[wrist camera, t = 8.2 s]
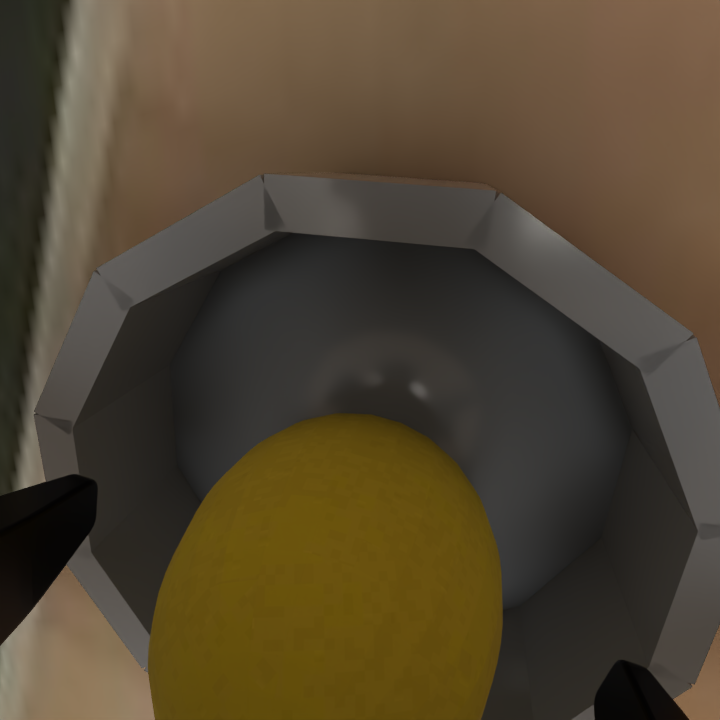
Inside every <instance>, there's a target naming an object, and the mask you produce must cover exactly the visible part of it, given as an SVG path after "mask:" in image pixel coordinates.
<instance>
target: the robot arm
mask: <svg viewBox="0 0 720 720" xmlns="http://www.w3.org/2000/svg"><path fill="white" fill-rule="evenodd" d="M97 498H98V485H97V482H96V481H95V480H93V479H90V478H87V477H84V476H81V475H78V474H70V475H66V476H63V477H60V478H57V479H54V480H50V481H47V482H44V483H41V484H37V485H34V486H31V487H28V488H24V489H21V490H18V491H15V492H12V493H8V494H5V495H2V496H0V645H1V644H2V643H3V642H4V641H5V640H6V639H7V638H8V637H9V635H10V634H11V633H12V632H13V631H14V630H15V629H16V628H17V626H18V625H19V624H20V623H21V622H22V621H23V620H24V619H25V617H26V616H27V615H28V614H29V613H30V612H31V610H32V609H33V608H34V607H35V605H36V604H37V603H38V602H39V600H40V599H41V598H42V596H43V595H44V594H45V592H46V591H47V590H48V588H49V587H50V586H51V584H52V583H53V582H54V580H55V579H56V578H57V576H58V575H59V574H60V572H61V571H62V570H63V568H64V567H65V565H66V564H67V563H68V561H69V560H70V559H71V557H72V556H73V555H74V553H75V552H76V551H77V549H78V548H79V547H80V545H81V544H82V543H83V541H84V540H85V538H86V537H87V536H88V534H89V533H90V532H91V530H92V528H93V526H94V524H95V521H96V516H97ZM594 718H595V720H689V719H688V717H687V716H686V715H685V714H684V712H683V711H682V710H681V709H680V708H679V706H678V705H677V704H676V703H675V701H674V700H673V699H672V698H671V696H670V695H669V694H668V693H667V691H666V690H665V689H664V688H663V687H662V685H661V684H660V683H659V682H658V680H657V679H656V678H655V677H654V675H653V674H652V673H651V672H650V671H649V670H648V669H647V668H645V667H643V666H641V665H638V664H635V663H632V662H629V661H626V660H622V659H620V660H617V661H616V662H615V663H614V664H613V666H612V667H611V669H610V671H609V672H608V674H607V675H606V677H605V679H604V680H603V682H602V683H601V685H600V687H599V688H598V690H597V692H596V695H595V699H594Z"/></svg>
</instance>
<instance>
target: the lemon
mask: <svg viewBox="0 0 720 720" xmlns="http://www.w3.org/2000/svg"><path fill="white" fill-rule="evenodd" d="M502 626H503V604H502V574H501V564H500V556H499V552H498V548H497V543H496V541H495V538H494V535H493V532H492V529H491V526H490V523H489V521H488V518H487V515H486V512H485V509H484V507H483V504H482V501H481V499H480V497H479V495H478V494H477V492H476V490H475V489H474V487H473V486H472V484H471V483H470V482H469V480H468V479H467V477H466V476H465V474H464V473H463V471H462V470H461V468H460V467H459V465H458V464H457V463H456V462H455V461H454V460H453V459H452V458H451V457H450V456H449V455H448V454H447V453H445V452H444V451H443V450H442V449H441V448H440V447H439V446H438V445H436V444H435V443H434V442H433V441H432V440H431V439H430V438H428V437H427V436H425V435H423V434H421V433H419V432H417V431H416V430H414V429H412V428H410V427H408V426H406V425H404V424H403V423H400V422H397V421H393V420H390V419H386V418H382V417H379V416H375V415H372V414H352V413H335V414H330V415H325V416H321V417H316V418H311V419H307V420H303V421H300V422H298V423H295V424H294V425H292V426H290V427H288V428H286V429H284V430H282V431H280V432H278V433H276V434H274V435H272V436H270V437H268V438H267V439H265V440H263V441H262V442H260V443H258V444H257V445H256V446H255V447H253V448H252V449H251V450H250V451H249V452H247V453H246V454H245V455H244V456H243V457H242V458H241V459H240V460H239V461H238V462H237V463H236V464H235V465H234V466H233V467H232V468H231V469H230V470H229V471H227V472H226V473H225V474H224V475H223V476H222V478H221V479H220V480H219V481H218V482H217V483H216V484H215V485H214V486H213V488H212V489H211V490H210V491H209V493H208V494H207V495H206V497H205V498H204V500H203V501H202V503H201V505H200V506H199V508H198V509H197V511H196V513H195V515H194V517H193V519H192V521H191V522H190V524H189V526H188V528H187V530H186V532H185V534H184V536H183V537H182V539H181V541H180V543H179V545H178V547H177V549H176V551H175V553H174V555H173V557H172V559H171V561H170V564H169V566H168V568H167V571H166V573H165V576H164V579H163V581H162V584H161V587H160V590H159V593H158V597H157V602H156V607H155V611H154V616H153V622H152V628H151V634H150V640H149V649H148V674H149V682H150V689H151V696H152V703H153V709H154V716H155V720H481V718H482V715H483V711H484V708H485V705H486V702H487V698H488V695H489V692H490V688H491V685H492V682H493V678H494V674H495V670H496V666H497V662H498V656H499V651H500V645H501V637H502Z"/></svg>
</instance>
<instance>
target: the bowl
mask: <svg viewBox="0 0 720 720" xmlns="http://www.w3.org/2000/svg"><path fill="white" fill-rule="evenodd" d="M96 269H97V270H96V271H94V272H93V274H92V277H91V279H90V281H89V284H88V286H87V288H86V291H85V293H84V295H83V298H82V300H81V302H80V305H79V307H78V309H77V312H76V314H75V316H74V319H73V321H72V323H71V326H70V328H69V331H68V333H67V335H66V338H65V340H64V342H63V345H62V347H61V349H60V352H59V354H58V356H57V359H56V361H55V363H54V366H53V368H52V370H51V373H50V375H49V377H48V380H47V382H46V385H45V387H44V389H43V392H42V394H41V396H40V399H39V401H38V403H37V406H36V408H35V410H34V412H36V414H34V418H35V424H36V430H37V435H38V441H39V446H40V452H41V457H42V463H43V468H44V474H45V479H46V482H47V481H50V480H54V479H57V478H60V477H63V476H66V475H70V474H78V475H81V476H84V477H87V478H90V479H93V480H95V481H96V482H97V485H98V498H97V516H96V521H95V524H94V526H93V528H92V530H91V532H90V533H89V534H88V536H87V537H86V538H85V540H84V541H83V543H82V544H81V545H80V547H79V548H78V549H77V551H76V552H75V553H74V555H73V556H72V557H71V559H70V560H69V561H68V563H67V566H68V567H69V568H70V570H71V571H72V573H73V574H74V575H75V577H76V578H77V579H78V581H79V582H80V584H81V585H82V586H83V588H84V589H85V590H86V592H87V593H88V595H89V596H90V597H91V599H92V600H93V601H94V603H95V604H96V606H97V607H98V608H99V610H100V611H101V613H102V614H103V615H104V617H105V618H106V619H107V621H108V622H109V624H110V625H111V626H112V628H113V629H114V630H115V632H116V633H117V635H118V636H119V637H120V639H121V640H122V641H123V643H124V644H125V646H126V647H127V648H128V650H129V651H130V652H131V654H132V655H133V657H134V658H135V659H136V661H137V662H138V663H139V665H140V666H141V668H144V667H146V668H145V671H146V672H148V649H149V640H150V634H151V628H152V622H153V616H154V611H155V607H156V602H157V597H158V593H159V590H160V587H161V584H162V581H163V579H164V576H165V573H166V571H167V568H168V566H169V564H170V561H171V559H172V557H173V555H174V553H175V551H176V549H177V547H178V545H179V543H180V541H181V539H182V537H183V536H184V534H185V532H186V530H187V528H188V526H189V524H190V522H191V521H192V519H193V517H194V515H195V513H196V511H197V509H198V508H199V506H200V505H201V503H202V501H203V500H204V498H205V497H206V495H207V494H208V493H209V491H210V490H211V489H212V488H213V486H214V485H215V484H216V483H217V482H218V481H219V480H220V479H221V478H222V476H223V475H224V474H225V473H226V472H227V471H229V470H230V469H231V468H232V467H233V466H234V465H235V464H236V463H237V462H238V461H239V460H240V459H241V458H242V457H243V456H244V455H245V454H246V453H247V452H249V451H250V450H251V449H252V448H253V447H255V446H256V445H257V444H258V443H260V442H262V441H263V440H265V439H267V438H268V437H270V436H272V435H274V434H276V433H278V432H280V431H282V430H284V429H286V428H288V427H290V426H292V425H294V424H295V423H298V422H300V421H303V420H307V419H311V418H316V417H321V416H325V415H330V414H335V413H352V414H372V415H375V416H379V417H382V418H386V419H390V420H393V421H397V422H400V423H403V424H404V425H406V426H408V427H410V428H412V429H414V430H416V431H417V432H419V433H421V434H423V435H425V436H427V437H428V438H430V439H431V440H432V441H433V442H434V443H435V444H436V445H438V446H439V447H440V448H441V449H442V450H443V451H444V452H445V453H447V454H448V455H449V456H450V457H451V458H452V459H453V460H454V461H455V462H456V463H457V464H458V465H459V467H460V468H461V470H462V471H463V473H464V474H465V476H466V477H467V479H468V480H469V482H470V483H471V484H472V486H473V487H474V489H475V490H476V492H477V494H478V495H479V497H480V499H481V501H482V504H483V507H484V509H485V512H486V515H487V518H488V521H489V523H490V526H491V529H492V532H493V535H494V538H495V541H496V543H497V548H498V552H499V556H500V564H501V574H502V604H503V626H502V637H501V645H500V651H499V656H498V662H497V666H496V670H495V674H494V678H493V682H492V685H491V688H490V692H489V695H488V698H487V702H486V705H485V708H484V711H483V715H482V718H481V720H595V718H594V699H595V695H596V692H597V690H598V688H599V687H600V685H601V683H602V682H603V680H604V679H605V677H606V675H607V674H608V672H609V671H610V669H611V667H612V666H613V664H614V663H615V662H616V661H617V660H620V659H622V660H626V661H629V662H632V663H635V664H638V665H641V666H643V667H645V668H647V669H648V670H649V671H650V672H651V673H652V674H653V675H654V677H655V678H656V679H657V680H658V682H659V683H660V684H661V685H662V687H663V688H664V689H665V690H666V691H667V693H668V694H669V695H670V696H671V698H672V699H674V698H676V697H677V696H679V695H680V694H682V693H683V692H685V691H687V690H688V689H690V688H691V687H692V685H691V684H695V682H696V680H697V678H698V675H699V673H700V670H701V668H702V665H703V663H704V661H705V658H706V656H707V653H708V651H709V649H710V646H711V644H712V641H713V639H714V637H715V634H716V632H717V629H718V627H719V624H720V408H719V405H718V402H717V399H716V396H715V393H714V390H713V387H712V383H711V380H710V377H709V374H708V371H707V368H706V365H705V362H704V359H703V356H702V353H701V349H700V346H699V343H698V340H697V337H695V336H694V335H693V334H694V333H692V332H691V331H690V330H688V329H687V328H686V327H684V326H683V325H681V324H680V323H679V322H677V321H676V320H675V319H673V318H672V317H670V316H669V315H668V314H666V313H665V312H664V311H662V310H661V309H660V308H658V307H657V306H655V305H654V304H653V303H651V302H650V301H649V300H647V299H646V298H645V297H643V296H642V295H640V294H639V293H638V292H636V291H635V290H634V289H632V288H631V287H629V286H628V285H627V284H625V283H624V282H623V281H621V280H620V279H619V278H617V277H616V276H614V275H613V274H612V273H610V272H609V271H608V270H606V269H605V268H604V267H602V266H601V265H599V264H598V263H597V262H595V261H594V260H593V259H591V258H590V257H588V256H587V255H586V254H584V253H583V252H582V251H580V250H579V249H578V248H576V247H575V246H573V245H572V244H571V243H569V242H568V241H567V240H565V239H564V238H563V237H561V236H560V235H558V234H557V233H556V232H554V231H553V230H552V229H550V228H549V227H548V226H546V225H545V224H543V223H542V222H541V221H539V220H538V219H537V218H535V217H534V216H532V215H531V214H530V213H528V212H527V211H526V210H524V209H523V208H522V207H520V206H519V205H517V204H516V203H515V202H513V201H512V200H511V199H509V198H508V197H507V196H505V195H504V194H502V193H501V192H499V191H498V190H496V189H495V188H493V187H492V186H490V185H487V184H485V183H475V182H461V181H447V180H433V179H419V178H405V177H391V176H377V175H362V174H348V173H277V174H264V175H258V176H256V177H255V178H253V179H251V180H249V181H248V182H246V183H244V184H242V185H241V186H239V187H237V188H236V189H234V190H232V191H230V192H229V193H227V194H225V195H223V196H222V197H220V198H218V199H216V200H215V201H213V202H211V203H209V204H208V205H206V206H204V207H202V208H201V209H199V210H197V211H195V212H194V213H192V214H190V215H188V216H187V217H185V218H183V219H181V220H180V221H178V222H176V223H174V224H173V225H171V226H169V227H167V228H166V229H164V230H162V231H160V232H159V233H157V234H155V235H154V236H152V237H150V238H148V239H147V240H145V241H143V242H141V243H140V244H138V245H136V246H134V247H133V248H131V249H129V250H127V251H126V252H124V253H122V254H120V255H119V256H117V257H115V258H113V259H112V260H110V261H108V262H106V263H105V264H103V265H101V266H99V267H98V268H96Z"/></svg>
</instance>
